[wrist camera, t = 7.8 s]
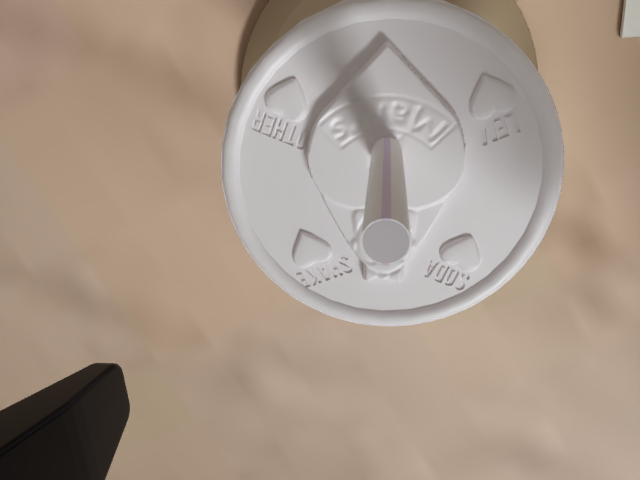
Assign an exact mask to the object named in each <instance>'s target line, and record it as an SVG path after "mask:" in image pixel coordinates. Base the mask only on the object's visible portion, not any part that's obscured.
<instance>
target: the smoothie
mask: <svg viewBox="0 0 640 480" xmlns="http://www.w3.org/2000/svg"><path fill="white" fill-rule="evenodd" d="M563 168H564V146H563V138H562V130H561V126H560V122H559V117H558V113H557V110H556V108H555V105H554V102H553V99H552V96H551V94H550V92H549V90H548V88H547V86H546V84H545V82H544V80H543V79H542V77H541V75H540V74H539V72H538V71H537V69H536V68H535V66H534V65H533V63H532V62H531V61H530V60H529V58H528V57H527V56H526V55H525V53H524V52H523V51H522V50H521V49H520V48H519V47H518V46H517V45H516V44H515V43H514V42H513V41H512V40H511V39H510V38H509V37H508V36H506V35H505V34H504V33H503V32H501V31H500V30H499V29H497V28H496V27H495V26H493V25H492V24H490V23H489V22H487V21H486V20H485V19H484V18H483V17H481V16H480V15H478V14H475V13H473V12H470V11H468V10H466V9H463V8H461V7H459V6H456V5H454V4H451V3H449V2H447V1H444V0H342V1H340V2H338V3H336V4H334V5H332V6H330V7H328V8H326V9H324V10H322V11H320V12H318V13H316V14H313V15H311V16H309V17H307V18H305V19H303V20H301V21H300V22H299V23H298V24H297V25H295V26H294V27H293V28H292V29H290V30H289V31H288V32H286V33H285V34H284V35H283V36H282V37H280V38H279V39H278V40H277V41H276V42H275V43H273V44H272V45H271V46H270V48H269V49H268V50H267V51H266V52H265V53H264V54H263V55H262V56H261V57H260V58H259V60H258V61H257V62H256V64H255V65H254V66H253V67H252V69H251V70H250V72H249V73H248V75H247V77H246V78H245V80H244V81H243V83H242V85H241V87H240V89H239V91H238V93H237V95H236V97H235V99H234V101H233V104H232V107H231V109H230V112H229V115H228V119H227V122H226V126H225V130H224V136H223V143H222V153H221V174H222V184H223V191H224V196H225V200H226V204H227V209H228V211H229V214H230V217H231V220H232V223H233V225H234V227H235V229H236V232H237V234H238V236H239V238H240V240H241V241H242V243H243V245H244V246H245V248H246V250H247V251H248V253H249V254H250V255H251V257H252V258H253V260H254V261H255V262H256V264H257V265H258V266H259V267H260V268H261V269H262V271H263V272H264V273H265V274H266V275H267V276H268V277H269V278H270V279H271V280H272V281H273V282H274V283H275V284H277V285H278V286H279V287H280V288H282V289H283V290H284V291H285V292H286V293H288V294H289V295H291V296H292V297H294V298H295V299H297V300H298V301H300V302H302V303H303V304H305V305H307V306H309V307H311V308H313V309H315V310H317V311H319V312H322V313H324V314H326V315H329V316H332V317H335V318H338V319H341V320H345V321H349V322H353V323H359V324H365V325H373V326H406V325H415V324H421V323H426V322H431V321H435V320H438V319H442V318H445V317H448V316H451V315H453V314H456V313H459V312H461V311H463V310H465V309H467V308H469V307H472V306H473V305H475V304H477V303H479V302H480V301H482V300H484V299H486V298H487V297H488V296H490V295H491V294H493V293H494V292H495V291H497V290H498V289H500V288H501V287H502V286H503V285H504V284H505V283H507V282H508V281H509V280H510V279H511V278H512V277H513V276H514V275H515V274H516V273H517V272H518V271H519V270H520V269H521V268H522V267H523V266H524V264H525V263H526V262H527V261H528V259H529V258H530V257H531V256H532V254H533V253H534V251H535V250H536V248H537V247H538V245H539V244H540V242H541V240H542V239H543V237H544V235H545V233H546V231H547V229H548V227H549V225H550V222H551V220H552V218H553V215H554V213H555V210H556V206H557V203H558V199H559V196H560V191H561V185H562V180H563Z"/></svg>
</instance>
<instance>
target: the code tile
mask: <svg viewBox="0 0 640 480" xmlns="http://www.w3.org/2000/svg"><path fill="white" fill-rule="evenodd" d="M620 37H621V38H625V37H640V0H624V4H623V13H622V22H621V30H620Z"/></svg>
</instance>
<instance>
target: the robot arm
mask: <svg viewBox="0 0 640 480" xmlns="http://www.w3.org/2000/svg"><path fill="white" fill-rule="evenodd" d="M129 412H130V404H129V399H128V394H127V389H126V385H125V380H124V376H123V372H122V369H121V367H120V366H119V365H118V364H115V363H94V364H91V365H89V366H88V367H86V368H84V369H82V370H80V371H78V372H76V373H74V374H72V375H70V376H68V377H66V378H64V379H62V380H60V381H58V382H56V383H54V384H52V385H50V386H48V387H46V388H44V389H42V390H40V391H38V392H36V393H34V394H33V395H31V396H29V397H27V398H25V399H23V400H21V401H19V402H17V403H15V404H13V405H11V406H9V407H7V408H5V409H3V410H1V411H0V480H105V478H106V476H107V473H108V470H109V468H110V465H111V463H112V460H113V457H114V455H115V452H116V449H117V447H118V444H119V442H120V439H121V436H122V434H123V431H124V428H125V426H126V423H127V420H128V417H129Z"/></svg>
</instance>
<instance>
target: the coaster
mask: <svg viewBox="0 0 640 480" xmlns="http://www.w3.org/2000/svg"><path fill="white" fill-rule="evenodd" d="M340 1H342V0H269V2H268V3H267V5H266V6H265V8H264V9H263V11H262V12H261V14H260V16H259V18H258V20H257V23H256V25H255V27H254V29H253V31H252V33H251V36H250V39H249V42H248V45H247V48H246V52H245V57H244V62H243V67H242V78H241V85H242V83H243V81H244V80H245V78H246V77H247V75H248V73H249V72H250V70H251V69H252V67H253V66H254V65H255V64H256V62H257V61H258V60H259V58H260V57H261V56H262V55H263V54H264V53H265V52H266V51H267V50H268V49H269V48H270V46H271V45H272V44H273V43H275V42H276V41H277V40H278V39H279V38H280V37H282V36H283V35H284V34H285V33H286V32H288V31H289V30H290V29H292V28H293V27H294V26H295V25H297V24H298V23H299V22H300V21H301V20H303V19H305V18H307V17H309V16H311V15H313V14H316V13H318V12H320V11H322V10H324V9H326V8H328V7H330V6H332V5H334V4H336V3H338V2H340ZM444 1H447V2H449V3H451V4H454V5H456V6H459V7H461V8H463V9H466V10H468V11H470V12H473V13H475V14H478V15H480V16H481V17H483V18H484V19H485V20H486V21H487V22H489V23H490V24H492V25H493V26H495V27H496V28H497V29H499V30H500V31H501V32H503V33H504V34H505V35H506V36H508V37H509V38H510V39H511V40H512V41H513V42H514V43H515V44H516V45H517V46H518V47H519V48H520V49H521V50H522V51H523V52H524V53H525V55H526V56H527V57H528V58H529V60H530V61H531V62H532V63H533V65H534V66H535V68H536V69H537V71H538V67H537V60H536V53H535V48H534V44H533V41H532V37H531V34H530V30H529V28H528V26H527V23H526V21H525V19H524V17H523V14H522V12H521V10H520V9H519V7H518V5H517V4H516V2H515V1H514V0H444Z"/></svg>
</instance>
